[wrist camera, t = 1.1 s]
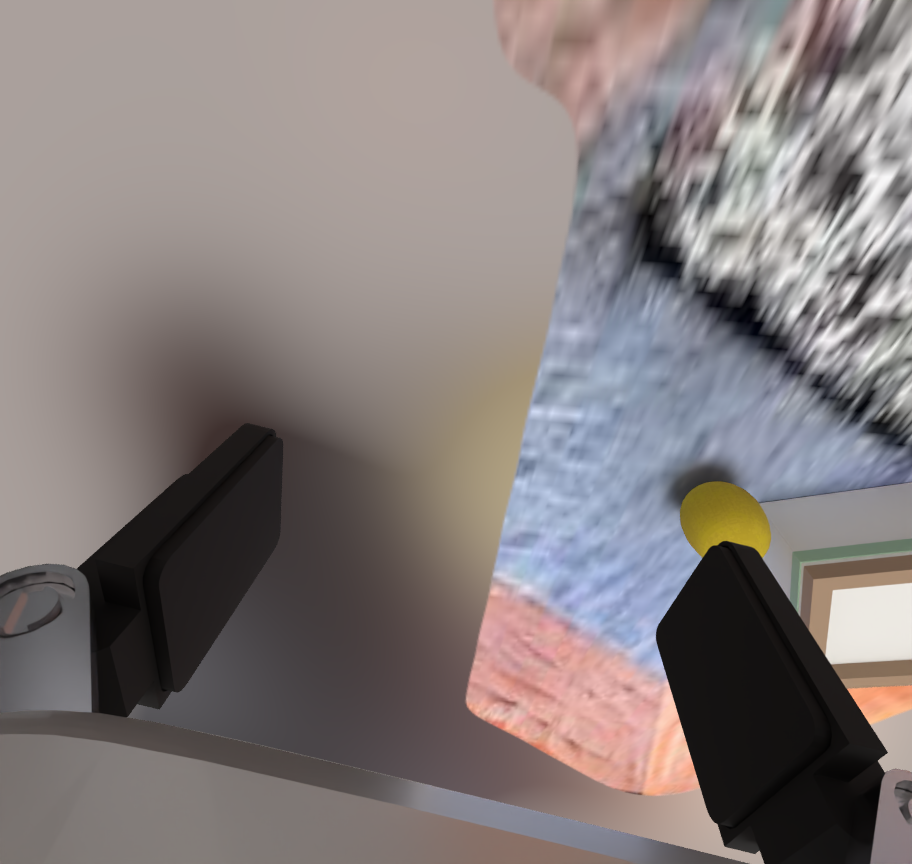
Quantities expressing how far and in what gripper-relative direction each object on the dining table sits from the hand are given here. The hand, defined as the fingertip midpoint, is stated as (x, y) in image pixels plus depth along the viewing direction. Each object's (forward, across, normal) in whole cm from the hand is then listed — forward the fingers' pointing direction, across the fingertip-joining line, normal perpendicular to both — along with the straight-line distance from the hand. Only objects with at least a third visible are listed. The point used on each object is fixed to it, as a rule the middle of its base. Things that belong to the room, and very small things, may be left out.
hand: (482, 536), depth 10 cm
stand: (+25, -32, +14) cm, 43 cm away
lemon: (+26, -20, +12) cm, 34 cm away
